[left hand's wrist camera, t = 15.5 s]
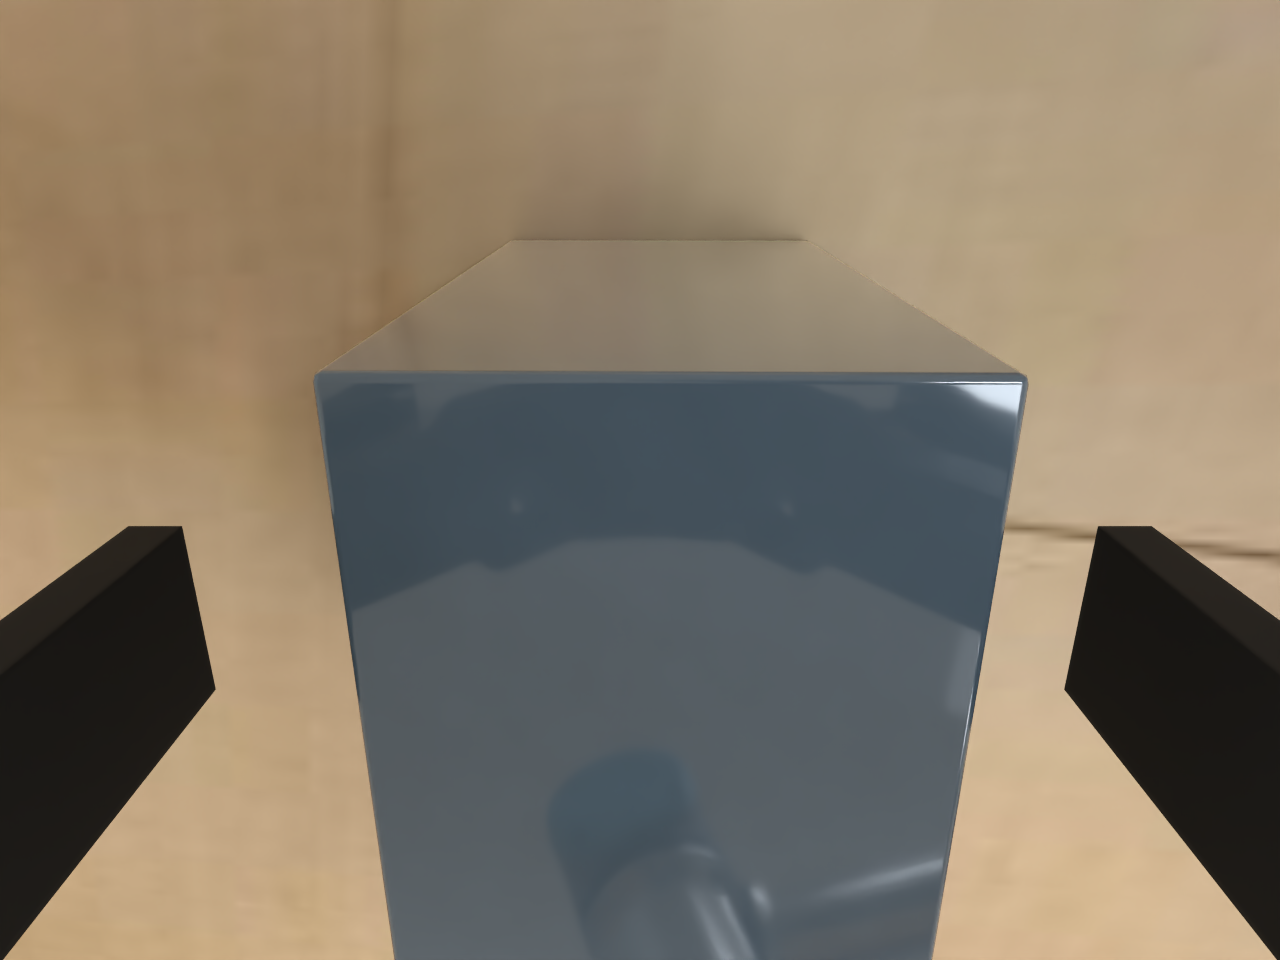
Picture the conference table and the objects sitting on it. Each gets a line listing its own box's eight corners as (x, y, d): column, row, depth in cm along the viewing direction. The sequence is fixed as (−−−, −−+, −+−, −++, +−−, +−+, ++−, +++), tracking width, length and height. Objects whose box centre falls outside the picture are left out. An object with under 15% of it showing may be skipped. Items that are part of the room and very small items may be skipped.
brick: (509, 239, 18) (307, 371, 8) (810, 240, 18) (1034, 375, 7) (528, 608, 21) (406, 1066, 11) (784, 610, 21) (917, 1073, 11)
